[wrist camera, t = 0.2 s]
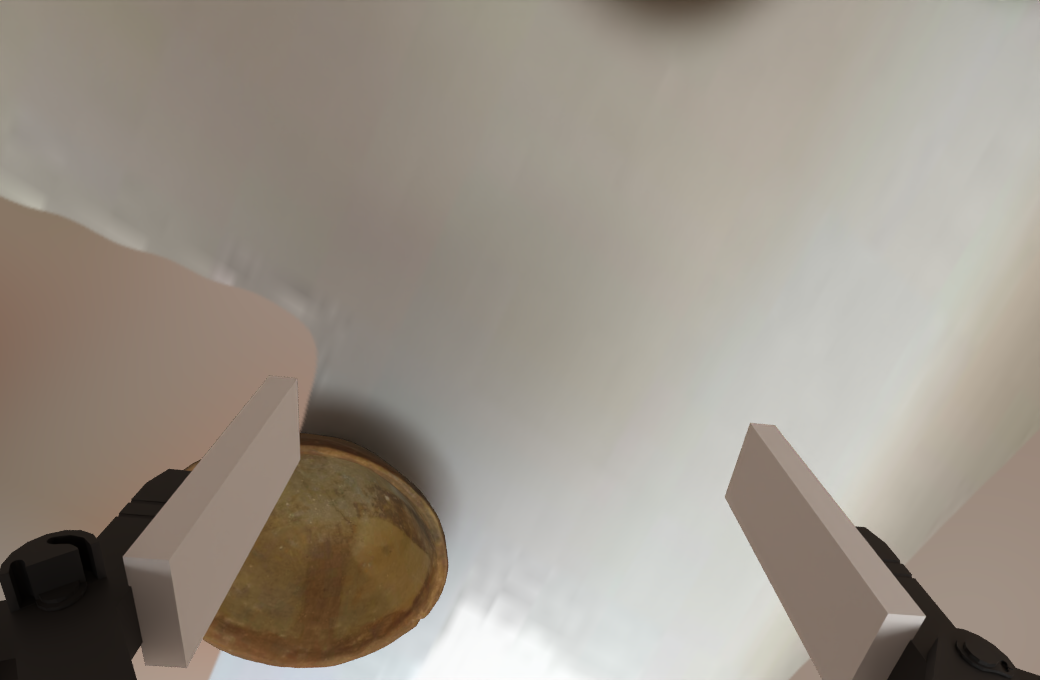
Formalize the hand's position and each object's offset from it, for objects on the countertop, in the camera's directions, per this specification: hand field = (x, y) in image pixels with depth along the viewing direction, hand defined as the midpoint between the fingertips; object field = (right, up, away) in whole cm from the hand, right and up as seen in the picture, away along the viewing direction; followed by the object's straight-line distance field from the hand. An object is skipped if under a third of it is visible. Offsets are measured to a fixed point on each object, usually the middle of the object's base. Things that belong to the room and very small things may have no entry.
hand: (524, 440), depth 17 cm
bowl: (-17, -10, +35) cm, 40 cm away
